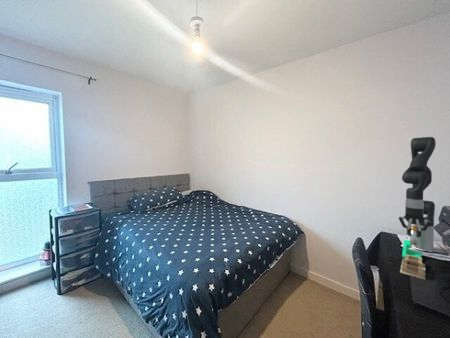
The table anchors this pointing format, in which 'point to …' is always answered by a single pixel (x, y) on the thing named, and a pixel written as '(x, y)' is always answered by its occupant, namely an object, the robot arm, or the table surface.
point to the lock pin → (413, 235)
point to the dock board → (413, 266)
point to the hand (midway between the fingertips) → (413, 236)
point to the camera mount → (409, 252)
